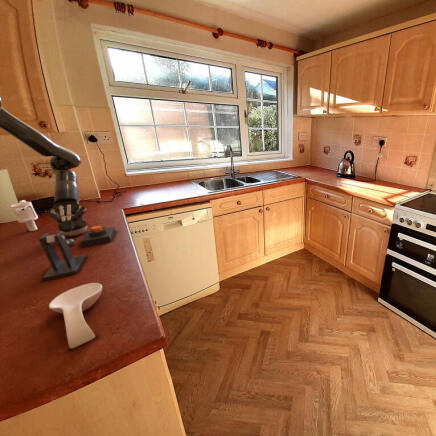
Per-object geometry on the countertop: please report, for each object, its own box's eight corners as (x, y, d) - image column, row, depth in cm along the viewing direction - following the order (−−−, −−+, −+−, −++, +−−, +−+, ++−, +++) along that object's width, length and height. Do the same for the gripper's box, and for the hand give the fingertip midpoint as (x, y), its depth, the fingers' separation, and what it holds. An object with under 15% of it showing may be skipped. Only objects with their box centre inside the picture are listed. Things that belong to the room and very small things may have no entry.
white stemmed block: (45, 225, 128) (32, 198, 122) (39, 230, 122) (25, 202, 116) (27, 228, 125) (13, 201, 119) (20, 234, 119) (5, 205, 113)
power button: (93, 230, 110) (92, 226, 109) (103, 228, 112) (101, 224, 111) (91, 233, 107) (90, 229, 106) (101, 231, 109) (100, 227, 108)
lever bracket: (56, 263, 92) (40, 231, 87) (85, 257, 95) (72, 225, 90) (43, 281, 82) (24, 245, 77) (76, 273, 85) (61, 238, 80)
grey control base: (90, 236, 114) (86, 227, 112) (115, 231, 118) (112, 223, 116) (83, 247, 104) (79, 237, 102) (111, 241, 108) (107, 232, 106)
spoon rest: (54, 305, 71) (44, 284, 68) (103, 287, 78) (96, 268, 75) (52, 359, 54) (38, 336, 51) (115, 330, 61) (105, 308, 58)
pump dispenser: (62, 234, 117) (48, 204, 111) (88, 227, 123) (77, 199, 118) (62, 241, 110) (48, 209, 104) (91, 233, 116) (79, 203, 111)
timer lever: (66, 249, 96) (65, 240, 96) (77, 246, 97) (76, 238, 97) (44, 244, 82) (43, 235, 82) (57, 242, 83) (56, 232, 84)
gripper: (40, 191, 96) (40, 230, 90) (82, 186, 101) (84, 223, 95) (51, 200, 102) (52, 237, 97) (89, 195, 108) (92, 230, 102)
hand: (68, 230), depth 96 cm, fingers closed
